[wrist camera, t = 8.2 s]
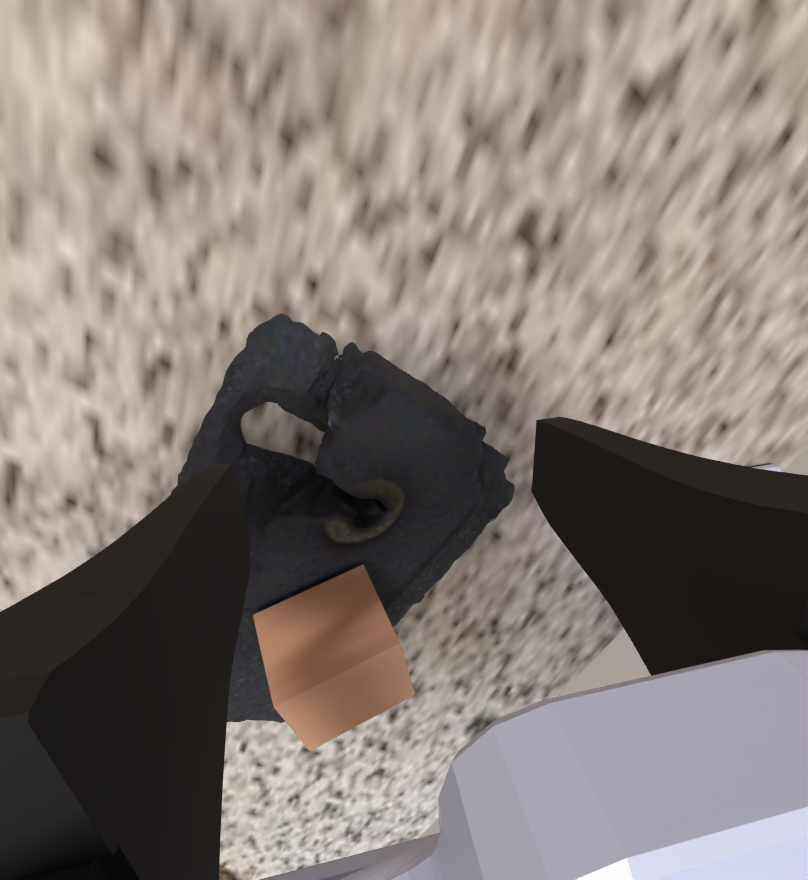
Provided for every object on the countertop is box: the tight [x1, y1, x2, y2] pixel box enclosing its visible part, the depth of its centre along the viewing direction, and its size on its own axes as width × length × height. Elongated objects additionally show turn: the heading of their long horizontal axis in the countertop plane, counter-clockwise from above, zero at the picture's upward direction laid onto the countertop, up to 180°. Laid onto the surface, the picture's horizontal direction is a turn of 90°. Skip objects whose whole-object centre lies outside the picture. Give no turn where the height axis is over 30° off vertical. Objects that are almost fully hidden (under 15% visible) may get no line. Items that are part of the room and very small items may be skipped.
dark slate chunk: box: [171, 314, 514, 723], centre depth 23 cm, size 15×22×5 cm
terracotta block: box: [253, 565, 415, 751], centre depth 21 cm, size 5×5×4 cm
